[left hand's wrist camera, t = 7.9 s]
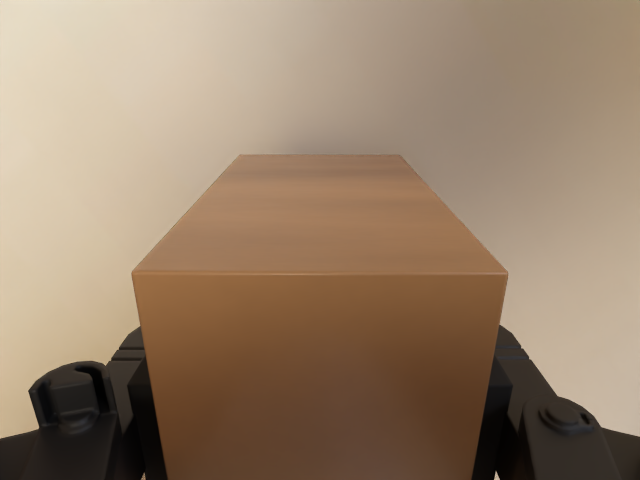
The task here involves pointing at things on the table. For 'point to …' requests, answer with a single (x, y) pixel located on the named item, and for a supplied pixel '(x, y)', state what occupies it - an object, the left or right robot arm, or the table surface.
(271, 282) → the bar
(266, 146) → the table surface
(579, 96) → the table surface
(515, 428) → the left robot arm
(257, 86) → the table surface
